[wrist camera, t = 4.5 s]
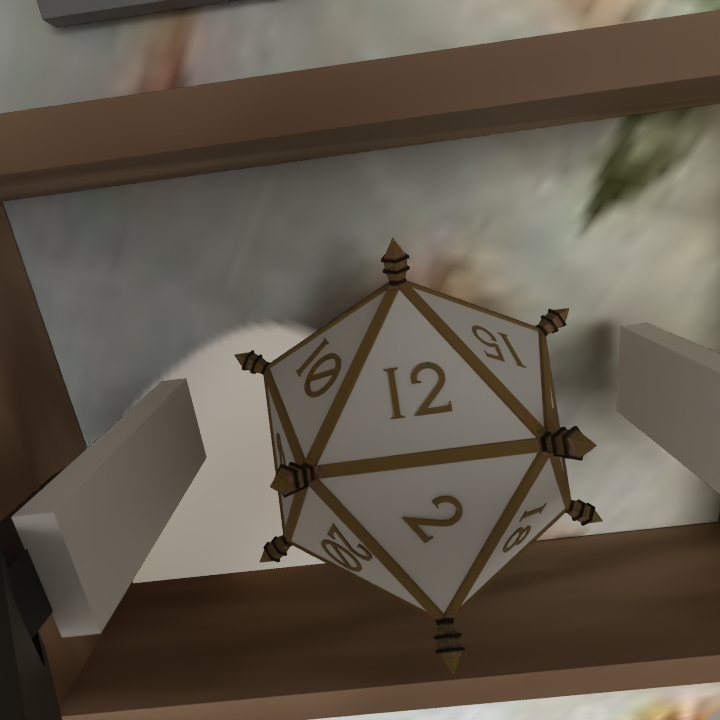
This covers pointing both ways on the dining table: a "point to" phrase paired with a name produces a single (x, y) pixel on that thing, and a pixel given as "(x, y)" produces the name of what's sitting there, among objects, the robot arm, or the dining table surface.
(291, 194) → the dining table surface
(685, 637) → the rectangular frame
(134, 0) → the pad
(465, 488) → the game die
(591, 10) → the dining table surface
